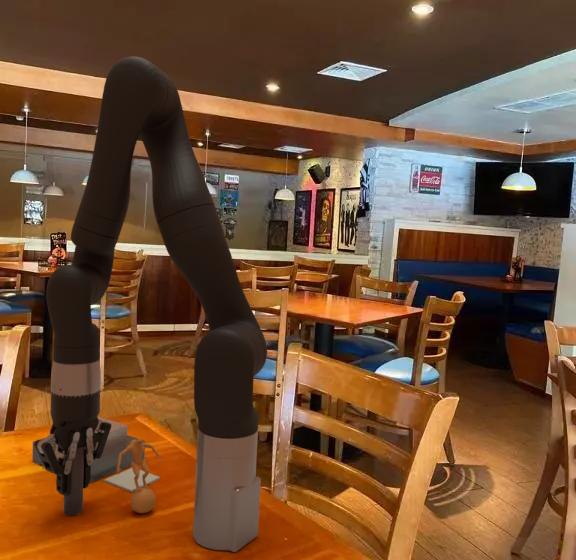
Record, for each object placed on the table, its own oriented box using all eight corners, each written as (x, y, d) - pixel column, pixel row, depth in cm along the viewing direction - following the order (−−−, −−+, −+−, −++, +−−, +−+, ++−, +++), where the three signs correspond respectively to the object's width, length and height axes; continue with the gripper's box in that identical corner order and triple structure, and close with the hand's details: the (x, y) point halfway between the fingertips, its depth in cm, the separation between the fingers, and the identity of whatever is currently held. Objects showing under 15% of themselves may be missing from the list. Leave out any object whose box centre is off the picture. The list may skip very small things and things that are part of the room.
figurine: (125, 524, 94) (128, 451, 93) (108, 509, 98) (110, 439, 97) (170, 509, 99) (173, 440, 98) (152, 495, 104) (154, 429, 103)
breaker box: (144, 460, 119) (145, 426, 118) (87, 484, 107) (88, 446, 106) (90, 441, 127) (91, 409, 126) (32, 461, 115) (33, 426, 114)
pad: (159, 479, 110) (159, 477, 110) (131, 492, 105) (131, 490, 104) (132, 469, 114) (133, 467, 114) (104, 481, 108) (104, 479, 108)
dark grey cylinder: (86, 510, 97) (88, 445, 96) (71, 517, 95) (73, 451, 94) (74, 504, 99) (76, 441, 98) (59, 511, 96) (60, 446, 95)
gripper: (53, 401, 87) (51, 513, 89) (125, 382, 99) (122, 481, 101) (22, 391, 91) (20, 499, 92) (94, 374, 103) (92, 470, 104)
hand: (73, 489), depth 96 cm, fingers closed on dark grey cylinder, 3 cm apart
